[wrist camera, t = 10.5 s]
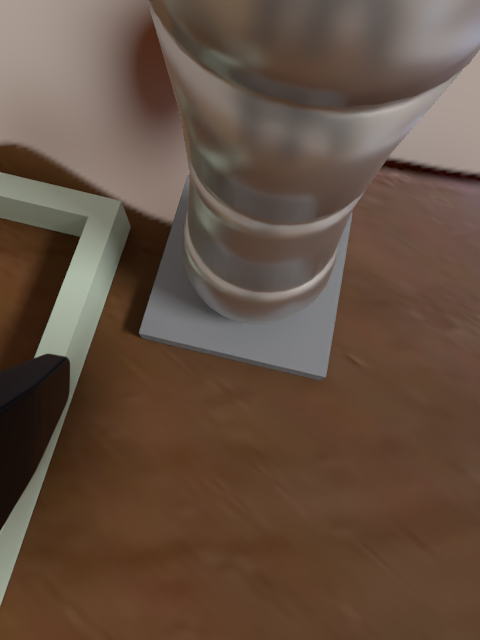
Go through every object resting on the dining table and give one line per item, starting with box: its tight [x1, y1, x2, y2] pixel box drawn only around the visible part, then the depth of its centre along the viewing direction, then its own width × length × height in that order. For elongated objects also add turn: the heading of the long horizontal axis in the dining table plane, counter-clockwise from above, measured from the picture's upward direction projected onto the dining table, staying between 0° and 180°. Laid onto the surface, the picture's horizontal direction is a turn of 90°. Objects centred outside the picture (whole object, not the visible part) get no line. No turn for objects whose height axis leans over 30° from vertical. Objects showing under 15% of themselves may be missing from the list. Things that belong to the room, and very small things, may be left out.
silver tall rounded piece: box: [148, 0, 480, 325], centre depth 11 cm, size 6×7×20 cm
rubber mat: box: [139, 175, 352, 381], centre depth 21 cm, size 9×9×1 cm
